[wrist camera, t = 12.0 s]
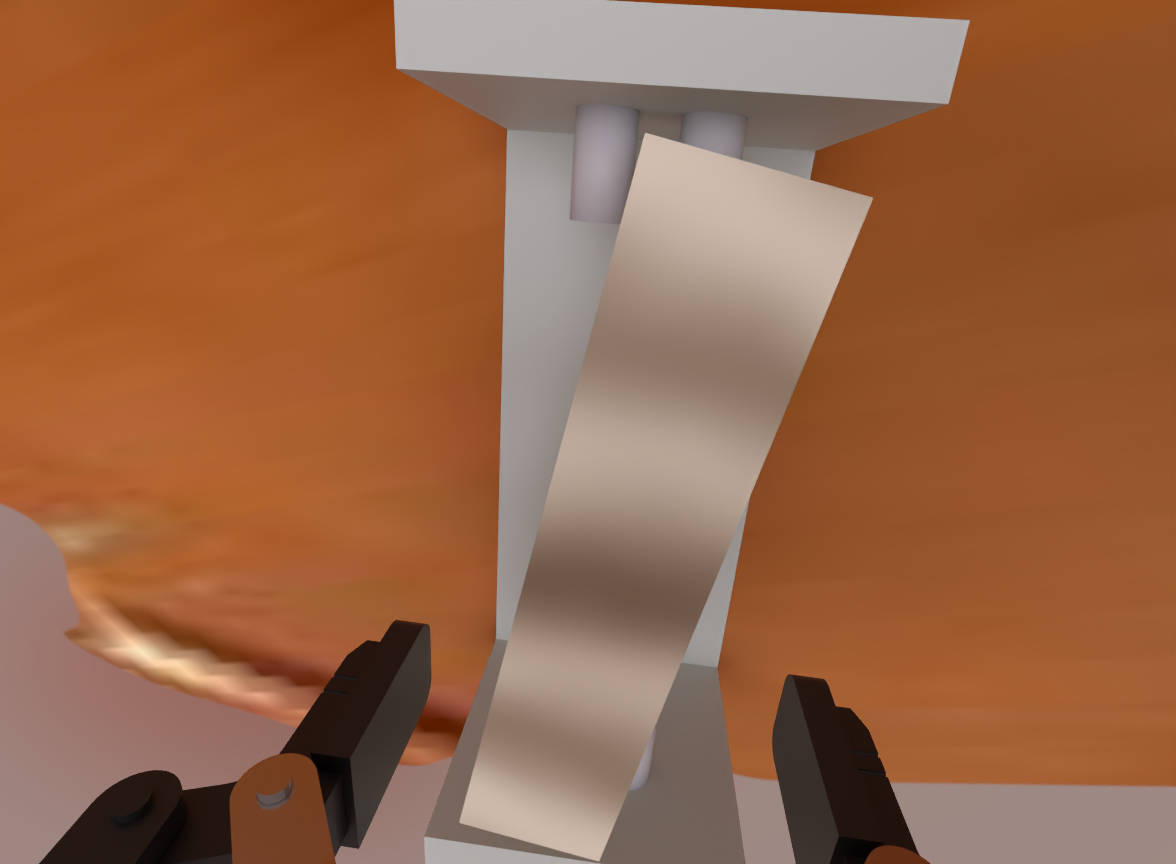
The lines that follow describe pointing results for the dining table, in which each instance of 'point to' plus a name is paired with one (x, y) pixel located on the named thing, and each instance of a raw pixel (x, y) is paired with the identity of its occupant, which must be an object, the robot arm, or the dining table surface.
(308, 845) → the robot arm
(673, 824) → the grey c-shaped frame
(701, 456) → the shelf board
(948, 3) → the dining table surface
